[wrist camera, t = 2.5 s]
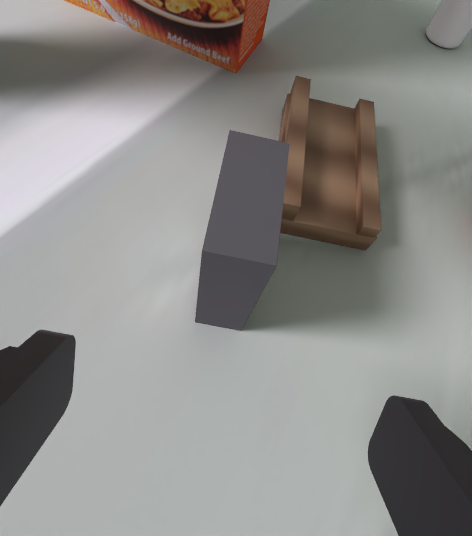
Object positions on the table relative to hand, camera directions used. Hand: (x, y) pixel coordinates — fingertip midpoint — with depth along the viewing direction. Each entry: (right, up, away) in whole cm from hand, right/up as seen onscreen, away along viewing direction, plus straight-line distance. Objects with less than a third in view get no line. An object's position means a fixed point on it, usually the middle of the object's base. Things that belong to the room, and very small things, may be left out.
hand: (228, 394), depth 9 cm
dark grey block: (-1, +2, +19) cm, 19 cm away
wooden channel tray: (+9, +13, +25) cm, 29 cm away
